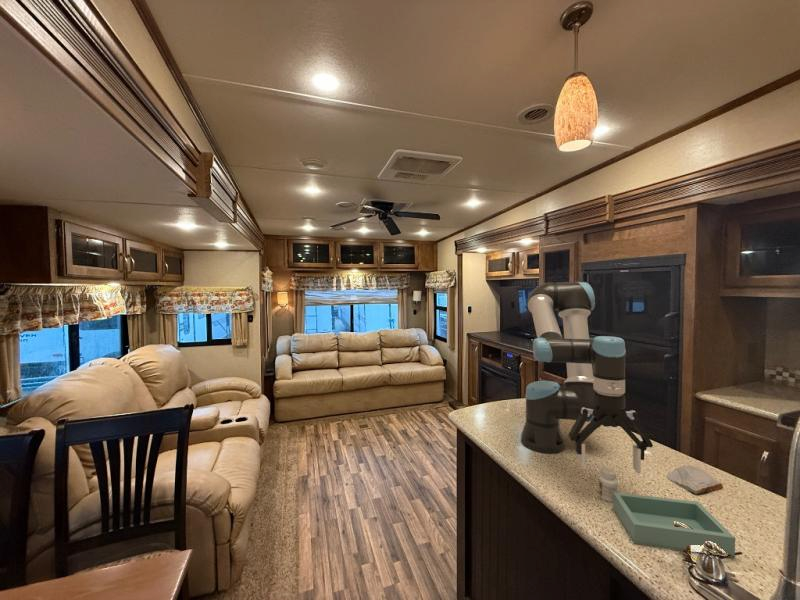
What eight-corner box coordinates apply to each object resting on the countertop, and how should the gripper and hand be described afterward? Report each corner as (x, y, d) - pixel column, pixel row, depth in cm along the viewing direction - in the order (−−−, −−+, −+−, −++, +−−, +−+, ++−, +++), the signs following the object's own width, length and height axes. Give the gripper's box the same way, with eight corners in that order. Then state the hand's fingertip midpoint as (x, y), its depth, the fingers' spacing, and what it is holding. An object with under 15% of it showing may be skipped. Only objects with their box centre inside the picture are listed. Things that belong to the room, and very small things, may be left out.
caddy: (612, 508, 87) (613, 492, 87) (697, 519, 83) (698, 501, 82) (634, 543, 75) (634, 524, 75) (734, 558, 71) (735, 537, 70)
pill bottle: (600, 490, 95) (600, 464, 94) (618, 496, 92) (618, 470, 92) (598, 498, 91) (598, 471, 91) (616, 505, 89) (616, 477, 88)
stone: (659, 477, 102) (659, 466, 101) (687, 471, 105) (687, 460, 104) (696, 497, 92) (696, 485, 92) (726, 490, 95) (726, 478, 94)
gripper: (563, 393, 90) (563, 469, 90) (668, 399, 84) (668, 480, 84) (557, 386, 97) (557, 456, 97) (653, 391, 91) (653, 465, 92)
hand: (609, 468), depth 91 cm, fingers open, 13 cm apart
